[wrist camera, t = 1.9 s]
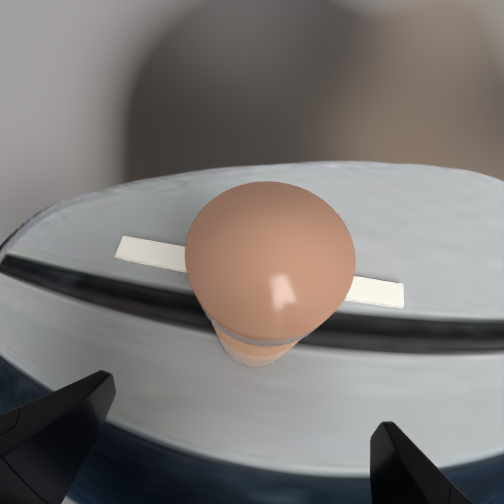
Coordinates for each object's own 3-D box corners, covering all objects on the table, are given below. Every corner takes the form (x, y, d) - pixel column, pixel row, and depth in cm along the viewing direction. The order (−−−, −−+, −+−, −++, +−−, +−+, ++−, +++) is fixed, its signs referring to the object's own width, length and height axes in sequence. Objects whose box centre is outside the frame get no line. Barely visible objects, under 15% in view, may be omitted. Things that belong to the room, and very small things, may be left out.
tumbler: (223, 373, 19) (190, 346, 7) (215, 303, 21) (183, 189, 10) (296, 362, 19) (374, 318, 8) (284, 294, 22) (330, 177, 10)
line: (116, 258, 22) (114, 256, 22) (124, 238, 23) (123, 235, 23) (401, 308, 21) (403, 306, 21) (401, 285, 22) (403, 284, 22)
